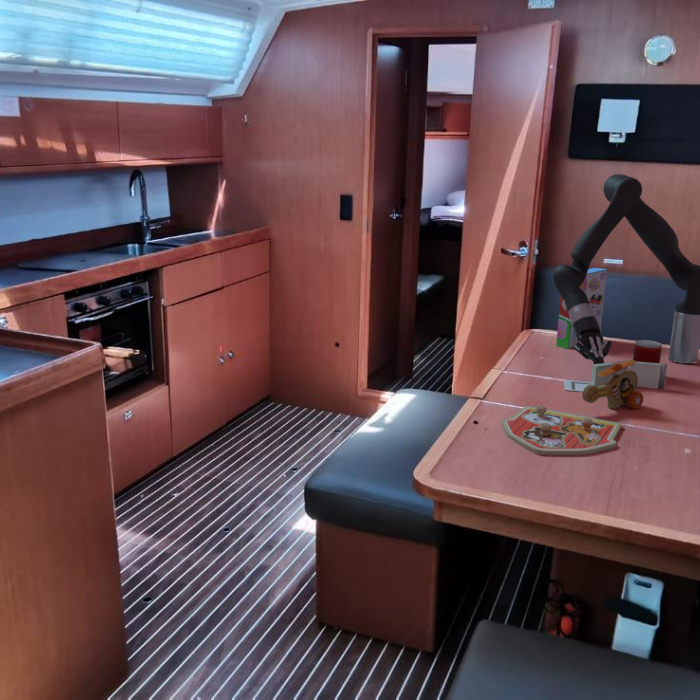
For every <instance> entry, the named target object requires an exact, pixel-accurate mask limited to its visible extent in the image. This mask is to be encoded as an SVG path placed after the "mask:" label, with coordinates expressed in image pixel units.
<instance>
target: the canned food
mask: <svg viewBox="0 0 700 700" xmlns="http://www.w3.org/2000/svg"><path fill="white" fill-rule="evenodd" d="M662 348H663V344H662V343H661V342H658V341H656V340H650V339H640V340H636V341H635V343H634V349H633V356H632V357H633V358H632V360H635V361H636V362H648V363H660V364H661V356H662V350H663V349H662Z"/></svg>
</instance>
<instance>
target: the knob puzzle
mask: <svg viewBox="0 0 700 700" xmlns="http://www.w3.org/2000/svg"><path fill="white" fill-rule="evenodd" d="M622 424H623V423H622V422H617V421H611V420H606V419H600V418H595V417H590V416H584V415H578V414H574V413H568V412H561V411H557V410H552V409H547V407H546V406H545V405H543V404H542V405H537V406H535V407H534V406H531V405H530V406H529V405H526V406H524V407H523V408H521V409H520V410H518V412H517V413H515V414H514V415H512V416H511V417H509V418H504V419H502V420H501V427H502V426H503V427H502V429H504V430H503V432H504V431H505V432H504V433H506V434H505V435H506V437H507V436H508V437H509V438H510V439H509V438H508V437H507V438H508V439H509V440H511V441H512V440H513V441H512V442H514V443H515V442H516V443H515V444H517V445H519V446H521V447H522V448H524V449H526V450H527V451H529V452H532V453H533V454H536V455H539V456H540V455H541V456H566V457H568V456H586V455H587V456H589V455H594V454H597V453H601V452H605V451H609V450H613V449H615V448H616V447H617V441H616V438H617V437H618V435H619V432H620V431H621V430H622V426H623V425H622ZM620 429H621V430H620Z"/></svg>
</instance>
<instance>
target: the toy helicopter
mask: <svg viewBox="0 0 700 700" xmlns="http://www.w3.org/2000/svg"><path fill="white" fill-rule="evenodd" d="M621 362H622V363H619V364H618V363H615V364H613V366H612V367H611V368H608V369H606V370H603V371H601V372H599V373H598V376H599V377H605V376H607V375H610V374H613V377H612V378H611V379H610V380H609V382H608V383H607V384H603V385H600V386H597V387H596V386H593V385H588V386H586V387H585V388H584V390H583V392H582V399H583V400H584V401H585V402H587V403H589V404H594V403H595V402H596V401H597V400H598V399H602V398H606V400H607V406H608V408H609V409H613V410H616V409H617V408H618V407H619V406H624V405H626V404H627V405H628V407H629V408H631V409H633V410H637V409H639V408H641V406H642V404H643V402H644V395H643V394H642V393H641V392H640V391H637V389H638V387H637V383H638V378H637V375H636V373H635V372H634V371H631V370H629V369H628V370H625V369H624V368H625V367H627V366H628V367H630V365H633V364H635V363H636V361H635V360H633V359H628V360H626V361H625V362H623V361H621Z"/></svg>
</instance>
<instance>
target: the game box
mask: <svg viewBox="0 0 700 700" xmlns="http://www.w3.org/2000/svg"><path fill="white" fill-rule="evenodd" d="M607 274H608V269H606V268H600V267H592V268H589V269H588V272H587V275H586V277H585V280H584V282H583V283H582V285H581V286H580V288H581V289H582V290H583V291H584V292H585V293H586V295H587V298H588V300H589V303H590V306H591V308H592V309H593V311H594V314H595V317H596V319H597V322H598V325H599V327H600V334H601V333H602V323H603V313H604V302H605V291H606V283H607ZM559 300H560V302H559V310H558V311H559V312H558V321H557V333H556V334H557V335H556V342H555V343H556V344H555V346H556V347H558V348H563V349H566V350H569V349H572V348H573V347H574V346H575V345H576V344H577V343H578V338H577V337H576V335H575V332H574V329H573V326H572V324H571V321H570V317H569V313H568V310H567V307H566V304H565V301H564V299H563V298H562V296H561V295H560V299H559ZM601 335H602V334H601ZM573 349H574V348H573Z"/></svg>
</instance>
